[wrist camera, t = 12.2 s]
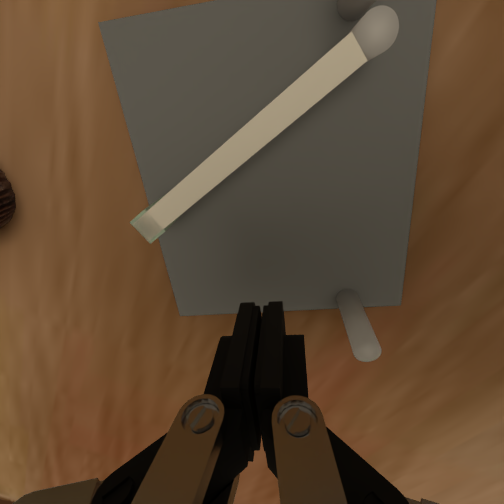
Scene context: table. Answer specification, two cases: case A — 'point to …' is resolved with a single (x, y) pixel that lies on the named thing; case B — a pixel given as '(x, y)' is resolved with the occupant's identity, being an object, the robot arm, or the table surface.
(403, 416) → the table surface
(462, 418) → the table surface
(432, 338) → the table surface
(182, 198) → the bar
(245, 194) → the gate base
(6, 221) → the cupcake
